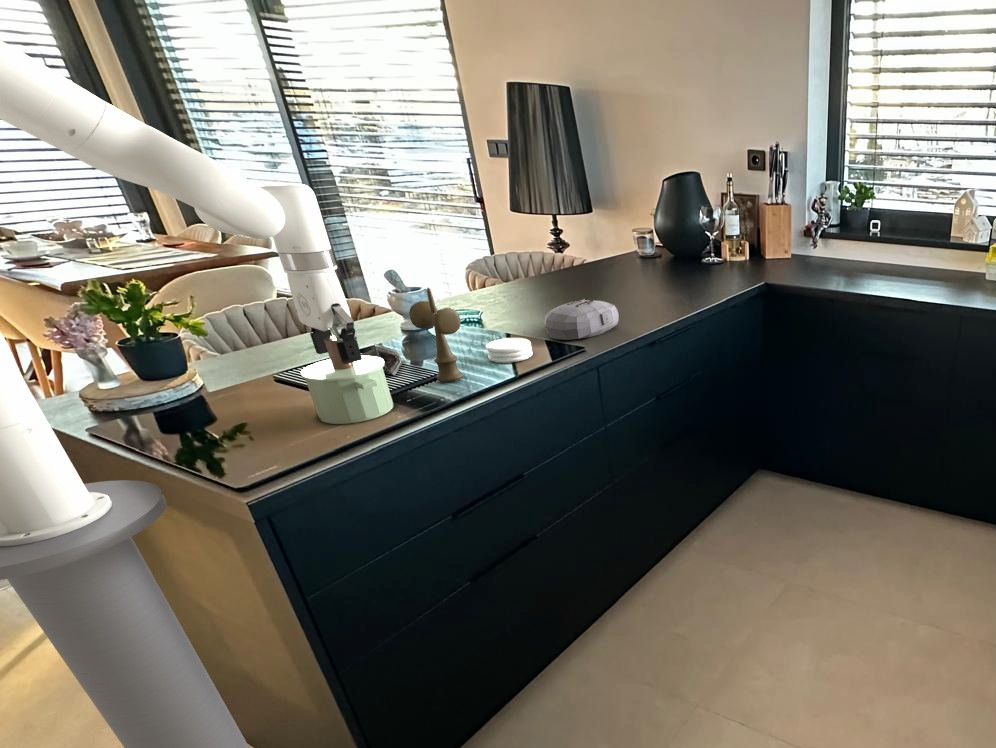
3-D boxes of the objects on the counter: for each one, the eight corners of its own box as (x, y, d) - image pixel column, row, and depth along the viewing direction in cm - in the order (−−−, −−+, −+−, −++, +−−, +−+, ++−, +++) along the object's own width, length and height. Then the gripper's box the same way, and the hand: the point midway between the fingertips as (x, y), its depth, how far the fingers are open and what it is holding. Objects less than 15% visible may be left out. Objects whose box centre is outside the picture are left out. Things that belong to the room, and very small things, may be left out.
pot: (346, 433, 112) (331, 388, 108) (300, 410, 120) (285, 368, 116) (413, 411, 121) (401, 369, 117) (367, 392, 129) (354, 352, 125)
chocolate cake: (369, 364, 145) (336, 340, 133) (400, 353, 146) (369, 329, 135) (380, 399, 143) (347, 378, 131) (411, 387, 144) (381, 366, 132)
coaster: (486, 353, 152) (483, 340, 151) (529, 348, 157) (527, 334, 155) (490, 366, 145) (487, 351, 143) (536, 360, 149) (533, 346, 147)
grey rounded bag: (586, 320, 181) (532, 337, 165) (582, 291, 177) (527, 306, 161) (627, 327, 175) (576, 346, 159) (624, 297, 172) (571, 313, 156)
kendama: (451, 371, 141) (429, 282, 132) (476, 380, 136) (455, 288, 127) (424, 379, 136) (400, 286, 127) (450, 388, 132) (427, 293, 123)
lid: (323, 390, 109) (311, 353, 106) (289, 375, 115) (276, 340, 112) (399, 369, 119) (390, 336, 116) (364, 356, 125) (354, 324, 122)
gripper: (260, 258, 109) (294, 353, 116) (307, 270, 100) (340, 371, 108) (309, 253, 114) (338, 343, 122) (357, 264, 106) (385, 360, 114)
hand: (339, 356), depth 115 cm, fingers open, 9 cm apart
